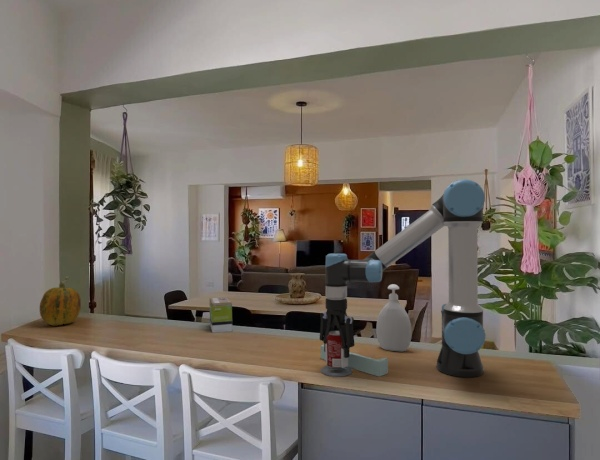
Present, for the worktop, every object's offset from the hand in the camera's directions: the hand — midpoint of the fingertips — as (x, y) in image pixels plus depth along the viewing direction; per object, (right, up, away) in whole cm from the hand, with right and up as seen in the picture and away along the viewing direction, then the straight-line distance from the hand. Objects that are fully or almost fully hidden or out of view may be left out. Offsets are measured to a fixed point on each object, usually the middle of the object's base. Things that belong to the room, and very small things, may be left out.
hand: (336, 364), depth 141 cm
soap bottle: (+26, -3, +26) cm, 37 cm away
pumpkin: (-139, -4, +73) cm, 158 cm away
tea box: (-53, -3, +63) cm, 82 cm away
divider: (+6, -3, +6) cm, 9 cm away
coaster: (0, -2, 0) cm, 2 cm away
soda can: (0, -1, 0) cm, 1 cm away
